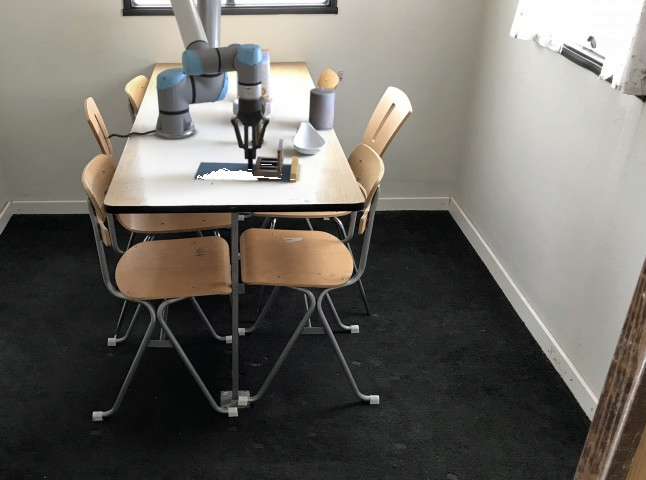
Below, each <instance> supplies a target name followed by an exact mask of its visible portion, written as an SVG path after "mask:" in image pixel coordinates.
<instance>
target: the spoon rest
mask: <svg viewBox="0 0 646 480" xmlns="http://www.w3.org/2000/svg"><path fill="white" fill-rule="evenodd" d="M292 145H293V148H294V149H295V150H296V152H298V153H301V154H302V155H310V156H311V155H316V154H318V153H320V152H322V151H323V150H324V149H325V147H326V145H327V142H326V140H325V138H324V137H323V136H322V135H321V134H320V133H319V131H318V130H317V129H314V128H313V126H312V125H311V124H310V123H309V121H307V122H301V121H300V122H299V123H298V126H297V129H296V133H295V135H294V137H293V140H292Z"/></svg>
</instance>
